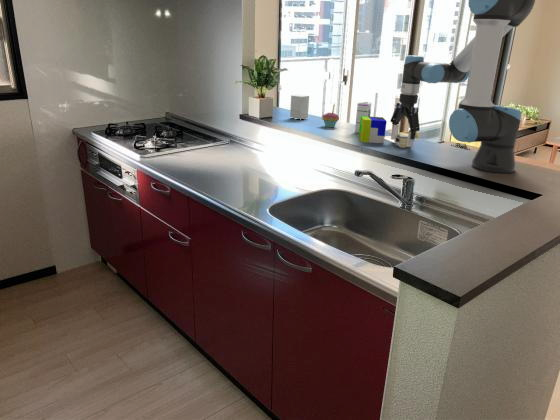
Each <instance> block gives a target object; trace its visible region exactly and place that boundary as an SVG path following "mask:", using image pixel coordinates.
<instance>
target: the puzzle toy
mask: <svg viewBox="0 0 560 420" xmlns="http://www.w3.org/2000/svg"><path fill="white" fill-rule="evenodd" d="M386 129H387V120H386V119H385V118H384V117H382V116H370V117H368V116H361V119H360V128H359V133H358V139H359V140H360V142H361V143H374V144H384V143H385V139H384V138H385V136H386Z"/></svg>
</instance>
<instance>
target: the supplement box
mask: <svg viewBox="0 0 560 420" xmlns="http://www.w3.org/2000/svg"><path fill="white" fill-rule="evenodd" d="M290 97H291V98H290V110H289V113H290V114H289V118H290V117H293V118H297V119H300V120H299V121H302V120H301V119H306V118H308V119H309V107H310V106H309V105H310V95H306V94H305V95H304V94H292V95H290ZM306 120H307V119H306Z"/></svg>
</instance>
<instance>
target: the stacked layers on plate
mask: <svg viewBox="0 0 560 420" xmlns="http://www.w3.org/2000/svg"><path fill="white" fill-rule="evenodd" d="M395 134H398V136H395V137H396V138H395V141H394V142H396V143H395V144H398V147H399V148H408V147H407V141H408V135H409V133H403V132H402V133H401V132H398V133H395Z"/></svg>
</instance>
